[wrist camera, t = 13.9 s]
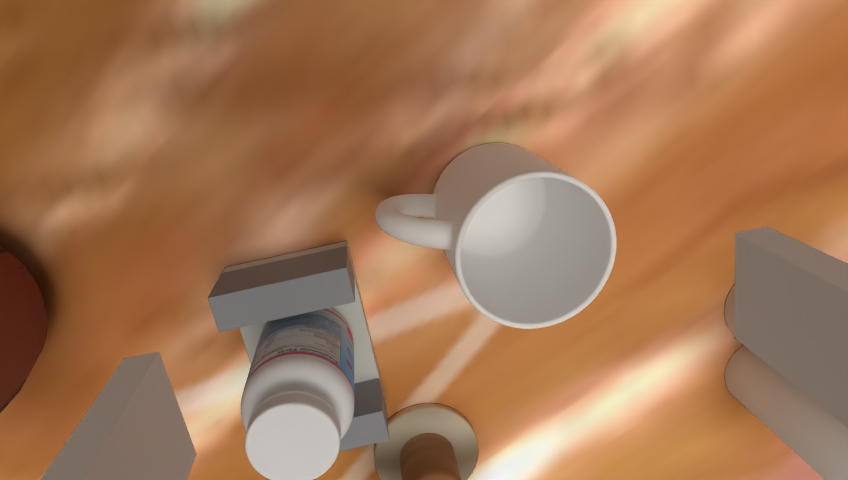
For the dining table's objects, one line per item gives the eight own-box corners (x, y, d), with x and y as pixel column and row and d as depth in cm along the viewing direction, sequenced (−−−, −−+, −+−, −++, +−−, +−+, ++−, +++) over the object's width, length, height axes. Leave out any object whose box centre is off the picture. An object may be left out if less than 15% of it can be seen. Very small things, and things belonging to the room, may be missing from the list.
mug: (365, 252, 40) (370, 319, 30) (378, 126, 38) (389, 154, 28) (540, 267, 42) (598, 334, 32) (563, 147, 39) (633, 181, 30)
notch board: (224, 267, 39) (207, 298, 34) (347, 240, 39) (346, 267, 35) (274, 422, 43) (265, 469, 38) (385, 396, 43) (389, 440, 39)
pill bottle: (336, 391, 42) (331, 509, 31) (248, 366, 40) (212, 481, 30) (367, 314, 40) (373, 411, 30) (277, 286, 39) (250, 377, 28)
